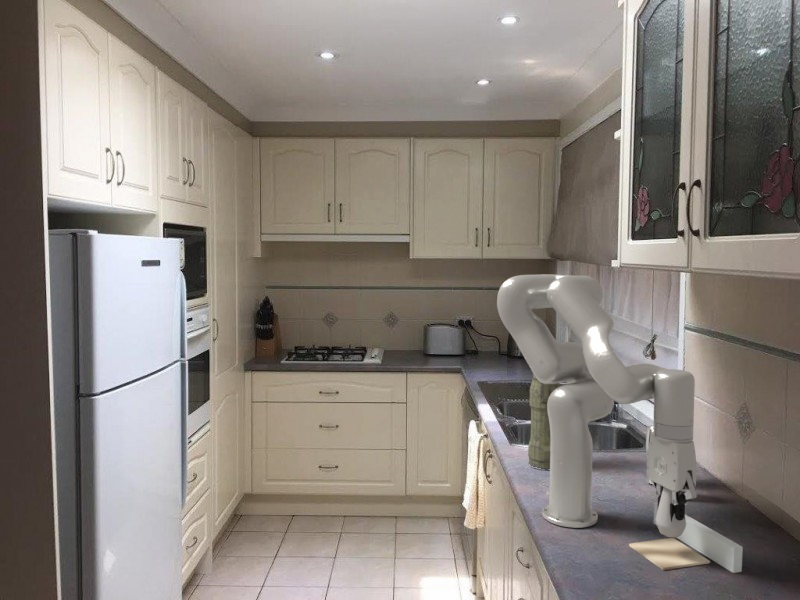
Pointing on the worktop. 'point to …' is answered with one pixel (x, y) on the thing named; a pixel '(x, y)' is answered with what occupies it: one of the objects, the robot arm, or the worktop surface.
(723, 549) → the acrylic wall
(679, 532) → the salt shaker
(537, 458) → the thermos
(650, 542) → the coaster board
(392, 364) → the worktop surface
